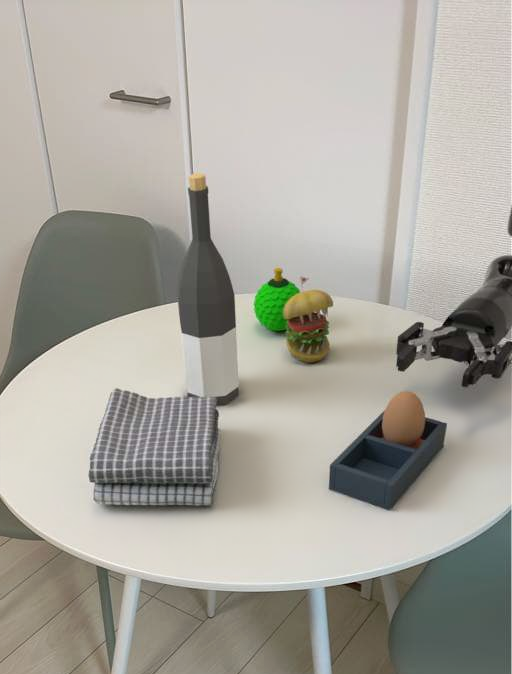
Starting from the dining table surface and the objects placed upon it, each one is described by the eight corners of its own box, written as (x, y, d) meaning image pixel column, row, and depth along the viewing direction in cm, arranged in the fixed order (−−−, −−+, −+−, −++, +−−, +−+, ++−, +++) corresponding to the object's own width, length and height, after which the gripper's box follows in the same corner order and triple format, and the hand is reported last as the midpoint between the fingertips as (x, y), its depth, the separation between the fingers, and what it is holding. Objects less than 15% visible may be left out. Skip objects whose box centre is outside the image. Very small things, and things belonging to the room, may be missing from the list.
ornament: (303, 338, 122) (304, 278, 116) (254, 340, 123) (252, 280, 117) (302, 317, 129) (303, 259, 122) (254, 319, 129) (253, 261, 123)
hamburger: (299, 371, 114) (300, 294, 106) (273, 353, 119) (272, 279, 111) (340, 357, 117) (344, 281, 109) (313, 340, 122) (315, 267, 114)
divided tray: (443, 447, 97) (447, 423, 94) (389, 510, 88) (392, 485, 85) (385, 429, 101) (388, 406, 98) (328, 489, 91) (329, 464, 89)
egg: (402, 463, 93) (409, 408, 88) (371, 447, 96) (376, 392, 91) (429, 447, 95) (438, 392, 90) (398, 431, 99) (404, 377, 93)
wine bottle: (175, 390, 112) (153, 174, 93) (222, 375, 115) (210, 162, 96) (201, 413, 107) (182, 189, 87) (250, 396, 109) (242, 175, 90)
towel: (92, 515, 91) (81, 461, 85) (112, 432, 104) (104, 382, 99) (218, 511, 89) (214, 457, 84) (221, 428, 103) (218, 377, 98)
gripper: (434, 287, 105) (382, 333, 96) (538, 307, 99) (493, 358, 89) (428, 337, 110) (378, 385, 101) (526, 359, 103) (482, 413, 94)
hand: (432, 372), depth 95 cm, fingers open, 8 cm apart
